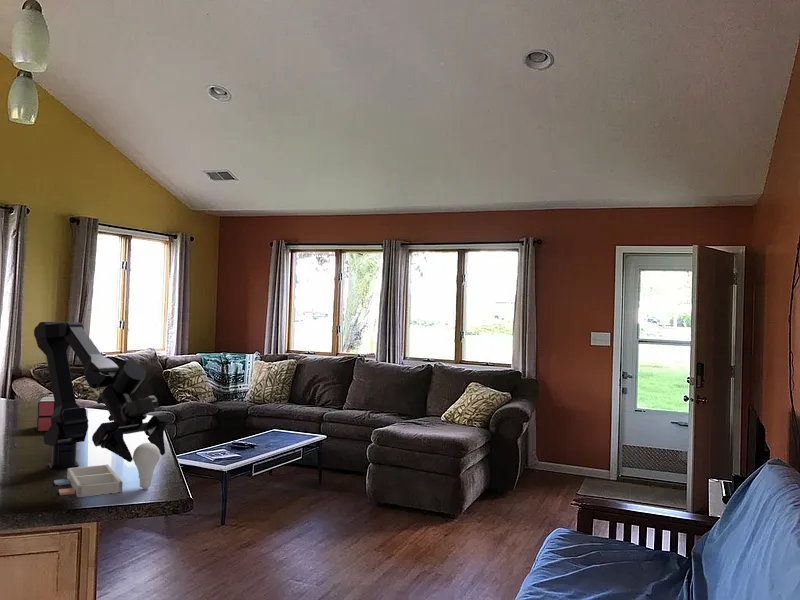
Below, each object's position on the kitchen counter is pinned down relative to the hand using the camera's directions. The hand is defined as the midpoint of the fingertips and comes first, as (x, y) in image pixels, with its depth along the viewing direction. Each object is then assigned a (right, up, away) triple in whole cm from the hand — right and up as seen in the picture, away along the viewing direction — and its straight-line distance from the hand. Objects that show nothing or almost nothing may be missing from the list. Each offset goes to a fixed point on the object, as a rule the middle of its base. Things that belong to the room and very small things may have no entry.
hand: (147, 457), depth 158 cm
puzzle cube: (-56, -6, +65) cm, 85 cm away
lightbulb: (-1, -8, 0) cm, 8 cm away
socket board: (-15, -7, +1) cm, 17 cm away
